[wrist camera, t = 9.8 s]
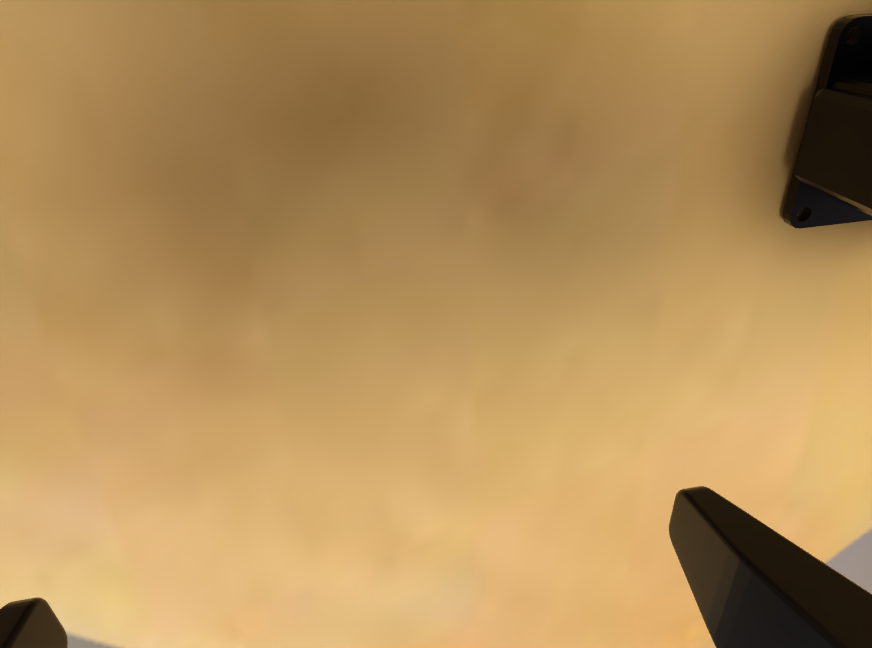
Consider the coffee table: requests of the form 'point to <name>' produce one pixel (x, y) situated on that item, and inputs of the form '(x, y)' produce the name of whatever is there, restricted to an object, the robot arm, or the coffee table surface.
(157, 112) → the coffee table surface
